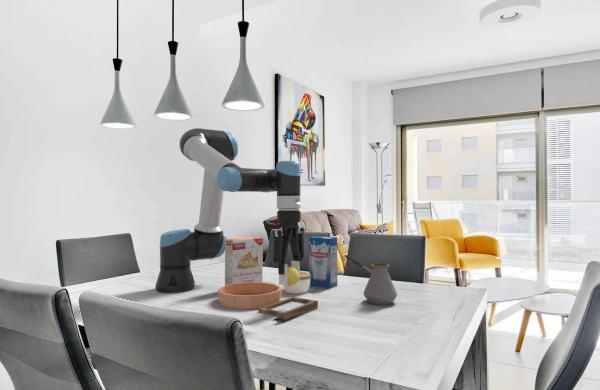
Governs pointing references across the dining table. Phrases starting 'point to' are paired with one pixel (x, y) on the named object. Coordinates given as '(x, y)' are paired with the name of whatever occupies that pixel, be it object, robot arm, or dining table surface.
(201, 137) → the robot arm
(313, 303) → the tray
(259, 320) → the dining table surface
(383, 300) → the coffee pot
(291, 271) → the ball
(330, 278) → the milk carton
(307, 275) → the lidded jar
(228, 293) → the bowl
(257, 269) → the cracker box
